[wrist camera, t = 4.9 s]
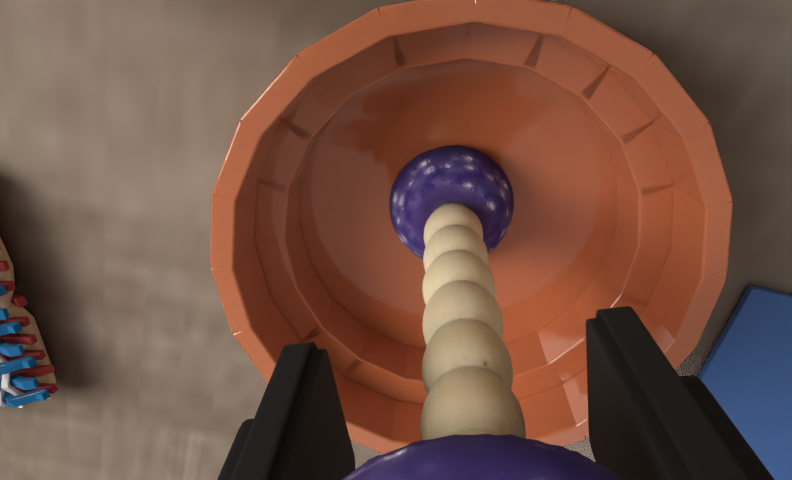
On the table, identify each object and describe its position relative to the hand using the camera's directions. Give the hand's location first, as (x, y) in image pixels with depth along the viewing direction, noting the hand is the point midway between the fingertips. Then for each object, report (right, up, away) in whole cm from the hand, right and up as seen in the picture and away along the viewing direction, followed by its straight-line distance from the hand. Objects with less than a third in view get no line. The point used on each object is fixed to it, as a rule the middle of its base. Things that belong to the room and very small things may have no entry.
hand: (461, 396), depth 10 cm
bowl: (+1, +4, +9) cm, 10 cm away
